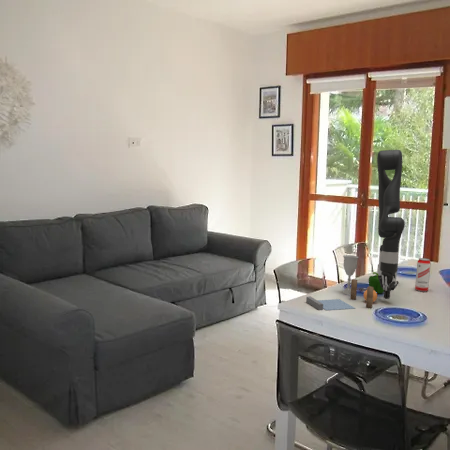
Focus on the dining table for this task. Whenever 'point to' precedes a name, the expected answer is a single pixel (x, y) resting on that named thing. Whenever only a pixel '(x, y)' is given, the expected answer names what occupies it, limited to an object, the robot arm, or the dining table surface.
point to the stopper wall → (314, 303)
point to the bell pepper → (375, 283)
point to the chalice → (349, 269)
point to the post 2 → (369, 297)
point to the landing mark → (335, 304)
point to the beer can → (422, 275)
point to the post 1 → (353, 289)
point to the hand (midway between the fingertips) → (386, 298)
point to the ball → (373, 295)
